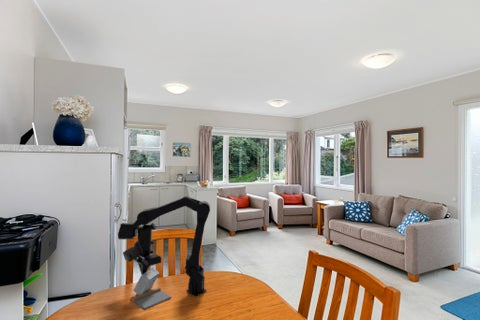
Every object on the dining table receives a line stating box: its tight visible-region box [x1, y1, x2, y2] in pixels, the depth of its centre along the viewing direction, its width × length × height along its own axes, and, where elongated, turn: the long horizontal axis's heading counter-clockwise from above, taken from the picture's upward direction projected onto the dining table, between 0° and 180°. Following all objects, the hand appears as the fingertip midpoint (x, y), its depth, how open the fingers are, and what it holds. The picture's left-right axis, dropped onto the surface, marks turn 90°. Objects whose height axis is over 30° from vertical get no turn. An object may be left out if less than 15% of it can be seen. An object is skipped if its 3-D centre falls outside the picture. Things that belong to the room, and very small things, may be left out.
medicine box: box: [133, 267, 161, 295], centre depth 112 cm, size 8×4×9 cm
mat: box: [132, 286, 172, 311], centre depth 107 cm, size 12×9×2 cm
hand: (143, 275), depth 112 cm, fingers closed
